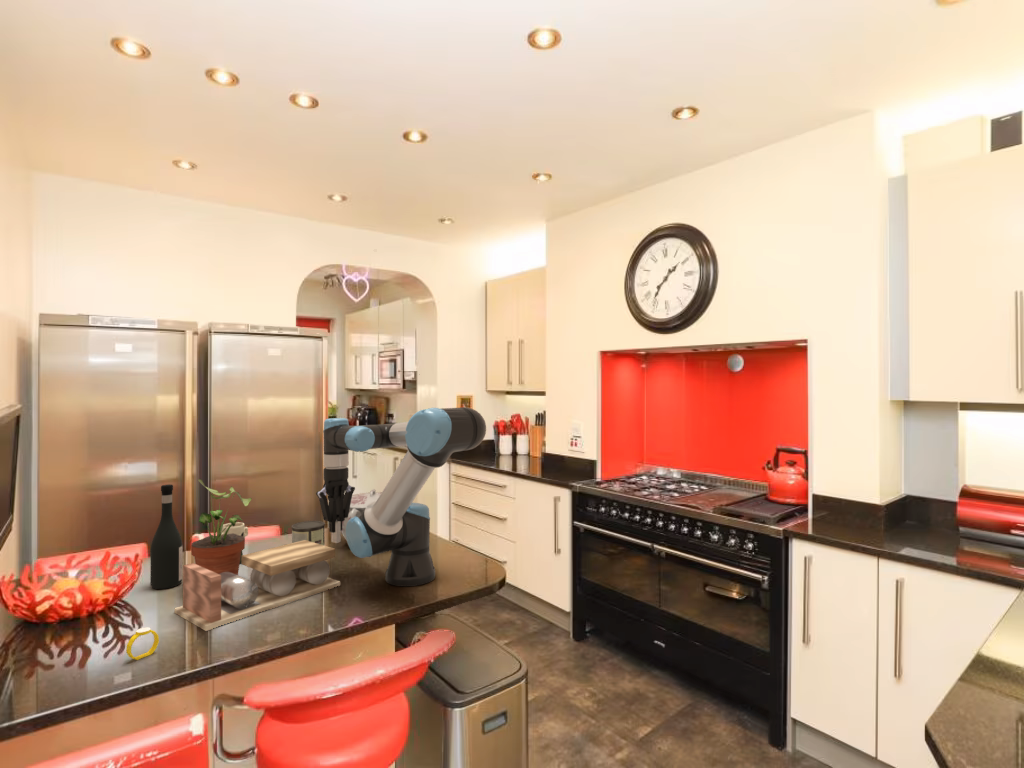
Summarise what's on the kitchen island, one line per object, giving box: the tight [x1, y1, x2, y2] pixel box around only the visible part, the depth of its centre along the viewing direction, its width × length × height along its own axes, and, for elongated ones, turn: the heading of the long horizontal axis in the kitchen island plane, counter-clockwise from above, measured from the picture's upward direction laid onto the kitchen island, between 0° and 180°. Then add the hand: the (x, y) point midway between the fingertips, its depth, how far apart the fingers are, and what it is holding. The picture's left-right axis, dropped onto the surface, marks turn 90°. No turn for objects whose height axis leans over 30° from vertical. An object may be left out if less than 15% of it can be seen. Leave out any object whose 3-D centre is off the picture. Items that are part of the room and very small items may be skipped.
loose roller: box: [220, 572, 258, 609], centre depth 145 cm, size 12×7×7 cm, turn 53°
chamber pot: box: [341, 488, 382, 542], centre depth 205 cm, size 28×27×21 cm
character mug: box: [221, 521, 249, 563], centre depth 182 cm, size 11×7×13 cm, turn 151°
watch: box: [125, 627, 160, 661], centre depth 119 cm, size 6×3×6 cm, turn 151°
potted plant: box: [190, 478, 252, 576], centre depth 162 cm, size 16×15×35 cm
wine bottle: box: [149, 484, 183, 590], centre depth 162 cm, size 8×8×30 cm
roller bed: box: [174, 560, 341, 632], centre depth 151 cm, size 18×38×12 cm, turn 143°
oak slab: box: [241, 540, 336, 576], centre depth 158 cm, size 16×20×2 cm
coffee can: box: [291, 520, 326, 546], centre depth 178 cm, size 10×10×14 cm
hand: (335, 541), depth 171 cm, fingers closed
